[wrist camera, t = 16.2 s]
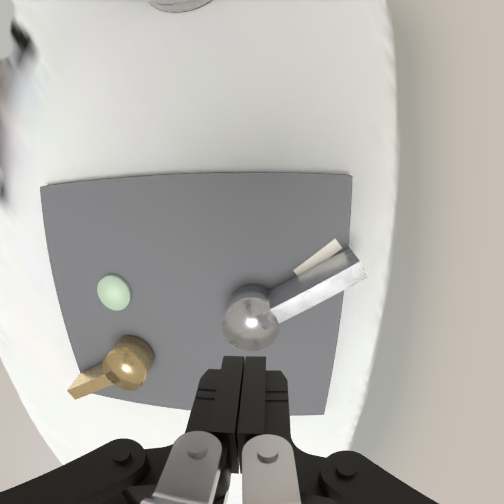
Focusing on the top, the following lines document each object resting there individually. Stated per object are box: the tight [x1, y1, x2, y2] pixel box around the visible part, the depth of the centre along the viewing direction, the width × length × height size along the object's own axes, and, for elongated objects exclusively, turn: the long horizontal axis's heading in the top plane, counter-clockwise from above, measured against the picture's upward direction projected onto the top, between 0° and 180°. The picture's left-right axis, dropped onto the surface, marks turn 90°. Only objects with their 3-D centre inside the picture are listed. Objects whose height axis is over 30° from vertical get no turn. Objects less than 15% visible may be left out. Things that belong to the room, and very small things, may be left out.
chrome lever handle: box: [222, 248, 367, 351], centre depth 28 cm, size 14×5×4 cm, turn 121°
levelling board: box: [40, 172, 352, 415], centre depth 33 cm, size 29×33×2 cm
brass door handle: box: [67, 336, 154, 399], centre depth 33 cm, size 14×5×4 cm, turn 122°
